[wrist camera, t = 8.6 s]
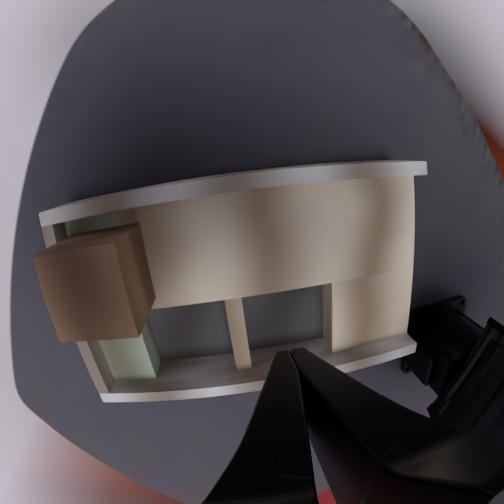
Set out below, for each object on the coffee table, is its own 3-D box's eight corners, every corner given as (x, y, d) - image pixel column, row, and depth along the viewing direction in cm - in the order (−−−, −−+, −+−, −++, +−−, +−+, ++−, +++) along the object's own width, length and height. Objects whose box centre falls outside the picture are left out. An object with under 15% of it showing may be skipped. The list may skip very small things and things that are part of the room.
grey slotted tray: (392, 159, 19) (426, 161, 15) (390, 326, 23) (415, 352, 19) (68, 202, 18) (38, 212, 14) (117, 369, 21) (103, 402, 18)
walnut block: (140, 222, 16) (114, 242, 12) (155, 297, 18) (139, 337, 13) (70, 234, 16) (32, 256, 12) (89, 304, 17) (60, 342, 13)
